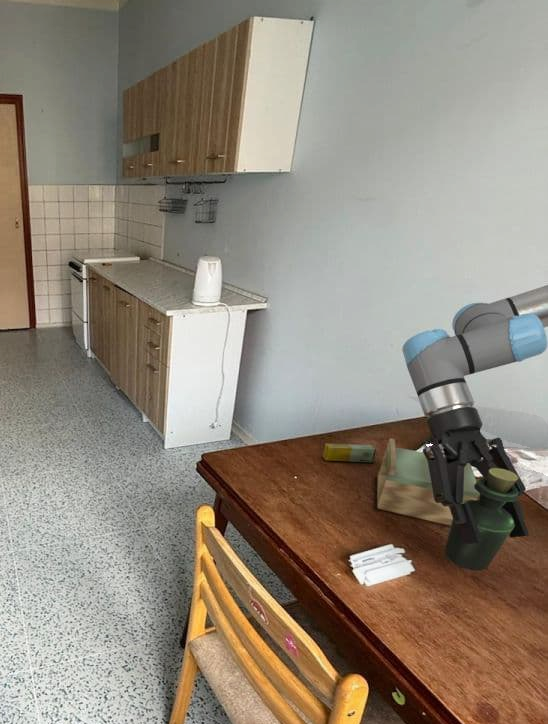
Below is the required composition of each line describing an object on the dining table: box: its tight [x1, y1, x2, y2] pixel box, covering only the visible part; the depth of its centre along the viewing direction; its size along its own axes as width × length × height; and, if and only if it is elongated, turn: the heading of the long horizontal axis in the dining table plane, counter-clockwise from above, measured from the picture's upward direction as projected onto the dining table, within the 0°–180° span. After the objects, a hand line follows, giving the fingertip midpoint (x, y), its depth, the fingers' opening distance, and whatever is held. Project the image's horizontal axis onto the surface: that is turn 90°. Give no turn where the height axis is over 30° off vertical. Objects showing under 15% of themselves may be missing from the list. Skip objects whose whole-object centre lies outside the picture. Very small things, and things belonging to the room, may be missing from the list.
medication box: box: [322, 443, 377, 464], centre depth 122 cm, size 12×3×4 cm, turn 85°
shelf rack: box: [376, 437, 480, 527], centre depth 104 cm, size 16×14×11 cm
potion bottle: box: [443, 468, 520, 572], centre depth 81 cm, size 8×8×18 cm
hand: (496, 539), depth 78 cm, fingers closed on potion bottle, 8 cm apart
